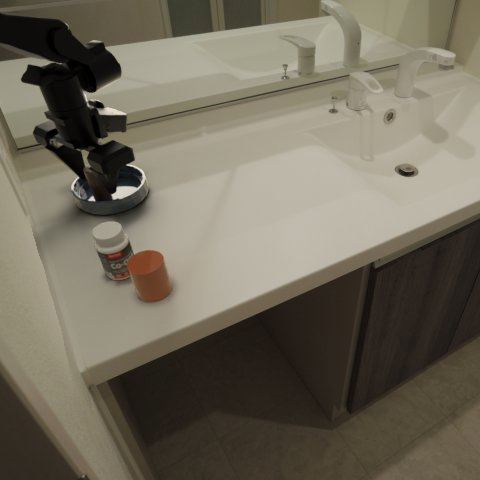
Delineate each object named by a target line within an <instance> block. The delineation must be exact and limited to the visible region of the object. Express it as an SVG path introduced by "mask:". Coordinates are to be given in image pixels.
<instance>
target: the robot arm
mask: <svg viewBox="0 0 480 480" xmlns="http://www.w3.org/2000/svg"><path fill="white" fill-rule="evenodd" d="M0 47H1V48H3V49H5V50H7V51H10V52H13V53H15V54H19V55H21V56H23V57H26V58H32V59H36V60H41V61H46V62H48V63H45V64H43V65H36V64H30V63H28V64H27V66H26V70H25V72H23V74H22V75H21V78H20V82H21V83H23V84H28V85H30V86H31V85H32V86H37V87H39V90H40V93H41V95H42V97H43V100H44V102H45V105H46V107H47V109H48V110H46V111H44V112H43V114H44V116H45V118H46V119H47V120H48V121H44V122H42V123H40V124H37V125H35V127H34V128H33V131H32V135H33V137H34V139H35V142H36V143H37V144H39V145H41V146H43V147H44V148H45V150H47V151H48V152H49V153H51V155H53V156H54V157H55V158H56V159H58V160H59V161H60V162H61V163H62V164H63V165H64V166H66V167H67V168H68V169H69V170H70V171H71V172H73V174H75V176H77V177H79V178H80V179H82V180H84V179H86V176H85V174H84V171H83V169H84V168H85V167H86V165H85V160H84V156H83V152H82V151H85V152H88V154H87V156H86V160H87V163H88V165H90V166H91V167H90V168H88V169H89V170H90V171H91V173H92V174H93V175H94V176H95V177H96V178H97V179H98V181H99V182H100V183H101V184H102V185H103V186H104V188H105V189H106V190H107V191H108V192H109V193H110V194H114V193H115V192H116V191H117V180H118V172H119V169H120V168H122V167H124V166H125V165H127V164H129V165H130V164H131V163H133V162H135V161H136V155H135V153H134V149H133V147H131V146H128V145H126V144H123V143H121V142H119V141H117V140H115V139H112V140H110V141H107V142H105V143H103V142H100V139H102V140H103V139H106V138H107V137H109V134H108V133H119V132H120V133H123V134H124V133H127V132H128V113H126V112H123V111H121V110H119V109H116V108H111V107H108V106H105V104H104V102H102V101H100V100H98V99H87V95H86V93H89V94H94V93H96V92H98V91H101V90H102V89H104V88H106V87H108V86H110V85H112V84H114V83H115V82H118V81H119V80H121V77H122V75H123V74H122V73H123V72H122V70H123V69H122V66H121V64H120V63H119V61H118V60H117V58H116V56H115V55H114V54H113V53H112V52H111V51H110V50H108V49H107V47H106V45H105V42H103V41H100V40H96V39H95V40H94V39H92V40H91V41H88V42H87V43H86V44H83V43H82V42H81V41H80V40H79V39H78V38H77V37H76V36H75V35H74V34H73V32H72V30H71V29H70V26H69V24H67V23H66V21H64V20H61V19H58V18H53V17H47V16H41V15H36V14H35V15H34V14H30V13H23V12H22V13H21V12H8V11H0Z"/></svg>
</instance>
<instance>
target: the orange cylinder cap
mask: <svg viewBox="0 0 480 480" xmlns="http://www.w3.org/2000/svg"><path fill="white" fill-rule="evenodd" d="M127 268H128V271H129V273H130V279H131V281H132V284H133V287H134V289H135V292H136V295H137V297H138V298H139V299H140V300H142V301H143V302H147V303H155V302H159V301H161V300H164V299H165V298H166V297H167V296H169V295H170V293H171V291H172V288H173V284H172V281H171V277H170V274H169V271H168V267H167V264H166V262H165V257H164V255H163V254H162V253H161V252H160V251H159V250H154V249H145V250H141V251H139V252H138V251H137V252H136V253H134V255H133V256H132V257H131V258H130V259H129V261H128V263H127Z"/></svg>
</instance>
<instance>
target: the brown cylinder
mask: <svg viewBox="0 0 480 480" xmlns="http://www.w3.org/2000/svg"><path fill="white" fill-rule="evenodd" d="M90 167H91V166H90V165H89V164H87V165H85V168H84V169H83V171H84V174H85V176H86V179H87V181H88V184H89V186H90V189H91V191H92V194H93V196H94V199H95V201H110V200H113V197H112V194H110V193H109V192H108V191H107V190H106V189H105V188H104V186H103V185H102V184H101V183H100V182H99V181H98V179H97V178H96V177H95V176H94V175H93V174H92V173H91V171H90V170H89V169H88V168H90Z"/></svg>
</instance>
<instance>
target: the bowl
mask: <svg viewBox="0 0 480 480" xmlns="http://www.w3.org/2000/svg"><path fill="white" fill-rule="evenodd" d="M149 190H150V188H149V183H148V179H147V177H146V173H145V172H144V171H143V169H142V168H140V167H138V166H136V165H133V164H130V163H129V164H127V165H125V166H124V167H122V168H120V169H119V172H118V180H117V191H116V192H115V193H114V194H112V197H113V200H110V201H95V199H94V196H93V194H92V191H91V189H90V186H89V184H88V181H87V179H84V180H82V179H80V178H79V177H78V176H77V177H76V178H75V179H74V180H73V181H72V183H71V185H70V193H71V195H72V197H73V200H74V202H75V204H76V206H77V208H79V209H81V211H83V212H85V213H89V214H92V215H101V216H103V215H104V216H108V215H116V214H119V213H123V212H126V211H128V210H131V209H132V208H135V207H136V206H137V205H139V204H140V203H142V202H143V200H144V199H146V197H147V196H148V193H149Z"/></svg>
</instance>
